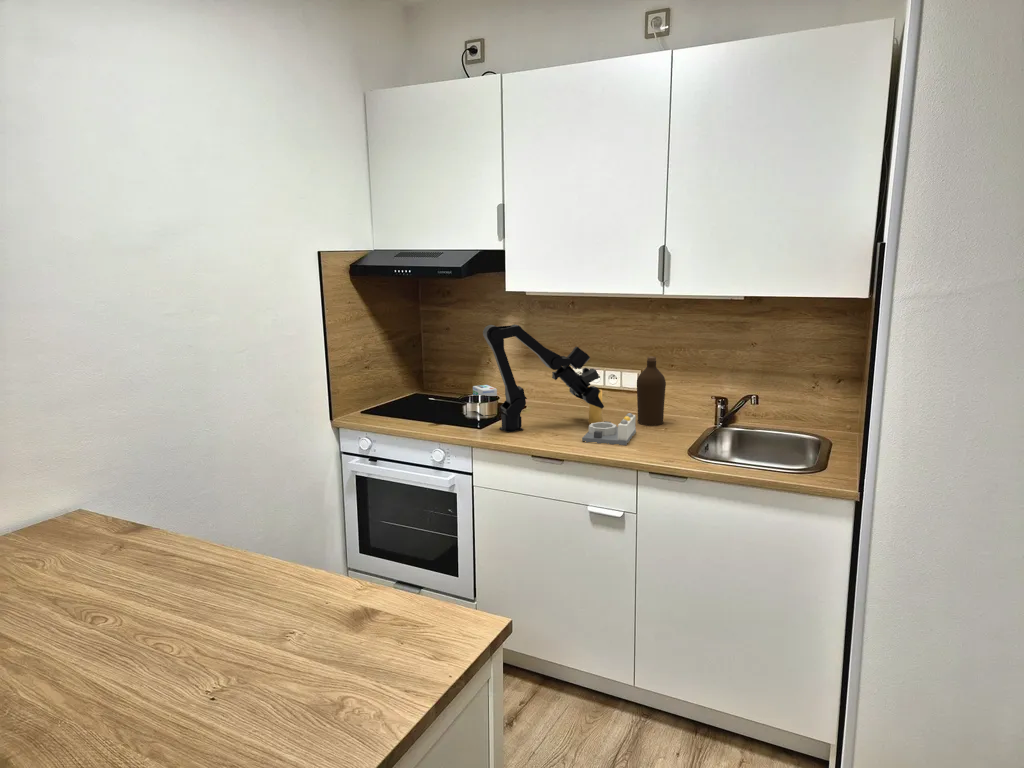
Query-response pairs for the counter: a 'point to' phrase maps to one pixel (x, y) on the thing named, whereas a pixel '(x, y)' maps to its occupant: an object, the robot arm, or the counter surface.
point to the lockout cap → (595, 412)
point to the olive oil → (651, 394)
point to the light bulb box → (484, 390)
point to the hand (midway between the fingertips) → (599, 405)
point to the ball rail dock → (612, 431)
